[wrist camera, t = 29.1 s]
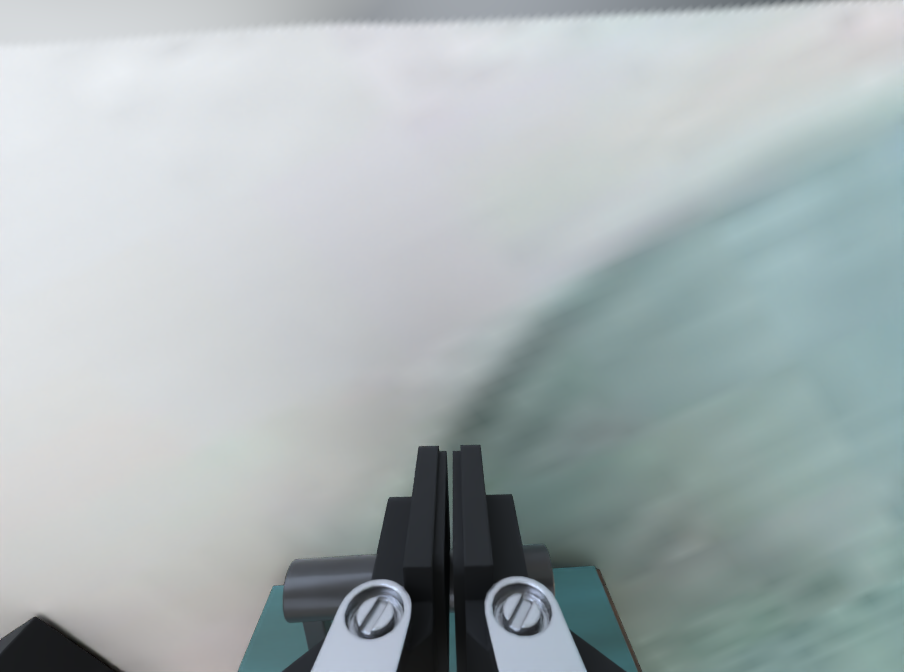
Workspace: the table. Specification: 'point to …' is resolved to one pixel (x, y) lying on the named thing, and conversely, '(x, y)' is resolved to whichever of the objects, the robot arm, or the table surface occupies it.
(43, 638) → the black square column
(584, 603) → the drawer
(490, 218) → the table surface
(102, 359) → the table surface
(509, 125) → the table surface
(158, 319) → the table surface
